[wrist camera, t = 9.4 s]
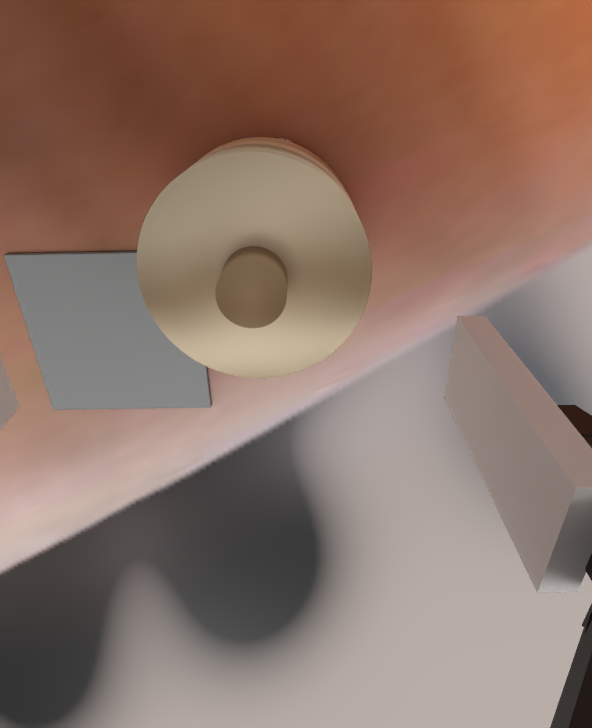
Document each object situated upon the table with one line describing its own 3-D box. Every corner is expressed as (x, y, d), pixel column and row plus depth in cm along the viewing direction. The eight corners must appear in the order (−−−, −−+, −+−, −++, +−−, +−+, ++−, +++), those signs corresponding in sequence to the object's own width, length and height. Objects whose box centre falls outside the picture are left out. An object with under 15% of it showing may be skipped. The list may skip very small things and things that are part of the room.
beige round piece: (154, 139, 24) (95, 161, 17) (361, 134, 24) (388, 156, 17) (182, 326, 29) (145, 403, 22) (353, 323, 29) (371, 400, 22)
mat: (6, 253, 32) (3, 255, 31) (192, 250, 32) (191, 252, 31) (55, 406, 38) (53, 409, 37) (211, 404, 38) (210, 407, 37)
